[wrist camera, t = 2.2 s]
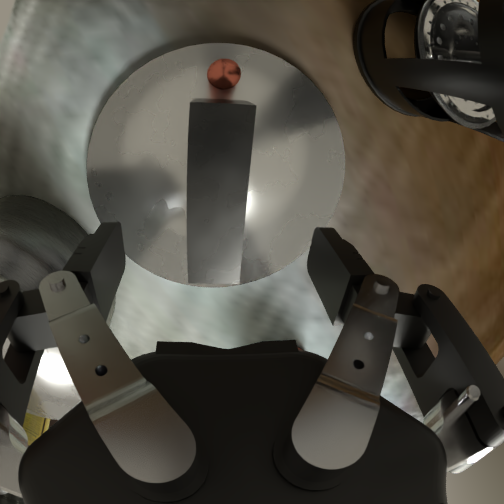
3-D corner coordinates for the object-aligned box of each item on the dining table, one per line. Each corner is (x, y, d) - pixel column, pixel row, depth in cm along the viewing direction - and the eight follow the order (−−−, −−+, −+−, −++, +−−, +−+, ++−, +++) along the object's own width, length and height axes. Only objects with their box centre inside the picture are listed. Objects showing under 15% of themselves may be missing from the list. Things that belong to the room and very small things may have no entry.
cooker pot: (-60, 229, 16) (-110, 283, 8) (20, 119, 14) (-70, 158, 6) (65, 371, 28) (47, 436, 20) (175, 331, 26) (170, 421, 18)
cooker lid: (92, 52, 13) (54, 46, 9) (355, 66, 16) (398, 66, 12) (108, 275, 22) (91, 320, 18) (313, 277, 25) (333, 321, 20)
